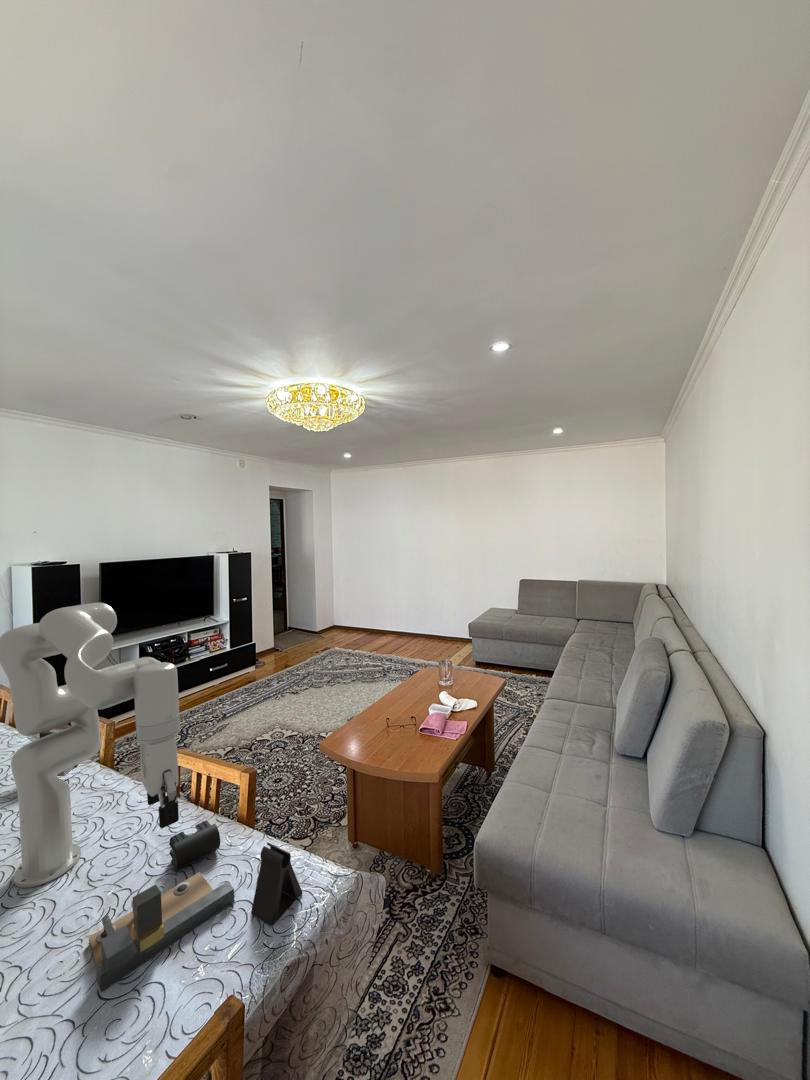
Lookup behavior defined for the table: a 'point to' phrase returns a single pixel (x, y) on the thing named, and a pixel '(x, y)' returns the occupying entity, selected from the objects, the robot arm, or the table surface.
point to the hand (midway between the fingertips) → (162, 812)
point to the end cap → (194, 845)
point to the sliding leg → (147, 918)
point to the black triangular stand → (275, 885)
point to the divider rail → (127, 957)
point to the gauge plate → (170, 904)
